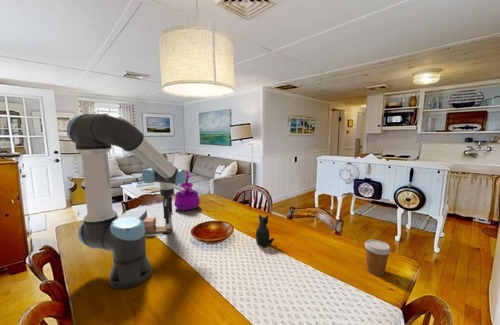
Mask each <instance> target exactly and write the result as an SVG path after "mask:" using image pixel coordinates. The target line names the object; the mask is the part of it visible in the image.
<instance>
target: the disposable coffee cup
mask: <svg viewBox="0 0 500 325" xmlns="http://www.w3.org/2000/svg"><path fill="white" fill-rule="evenodd" d="M364 247H365V256H366V257H365V258H366V270H367V271H368V272H369V273H370V274H372V275H374V276H378V277H380V276H384V274H385V271H386V267H387V263H388V260H389V259H388V258H389V255H390V253H391V251H392V250H391V247H390V245H389V244H388V243H386V242H385V241H382V240H379V239H368V240H366V241H365V243H364Z"/></svg>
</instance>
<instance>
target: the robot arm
mask: <svg viewBox="0 0 500 325" xmlns="http://www.w3.org/2000/svg"><path fill="white" fill-rule="evenodd" d="M66 135H67V137H68V139H69V140H71V142H73V143H74V144H75V150H76V151H77V152H78V153H80V154H81V161H82V162H81V163H82V172H83V183H84V184H83V185H84V190H85V191H84V192H85V200H86V201H85V202H86V211H87V214H86V215H85V216H84V217H83V219H82V220H83V221H82V222H81V224H80V226H79V228H78V232H77V236H78V239H79V241H80V242H81V244H82V245H84V246H86V247H88V248H92V249H99V250H103V251H104V250H105V251H109V252H111V253H112V266H111V269H110V272H109V275H108V276H109V278H108V281H109V286H110V287H112V288H113V289H119V290H125V289H131V288H133V287H136V286H139V285H141V284H143V283H144V282H146V281H147V280H148V279H149V278H150V277H151V275H152V273H153V272H152V265H151V262H150V259H149V258H148V256H147V247H146V244H147V243H146V236H145V228H144V223H143V221H142V220H141V219H139V218H135V217H122V218H119V217H118V212H117V211H116V210H114V209H113V198H112V186H111V176H110V166H109V152H110V151H111V150H112V147H113V146H114V147H115V146H116V147H118V148H121V149H122V150H123V151H124V152H128V153H129V152H130V153H131V154H133V155H134V156H135V157H137V158H138V159H140V160H141V161H142V162H143V163H144V164H146V165H147V166H148V167H149V168H146V169H144V170H143V171H142V173H141V178H142V180H143V182H144V183H146V184H153V183H159V188H160V189H159V190H160V192H159V193H160V194H159V195H160V196H162V197H164V198H163V200H162V201H163V202H162V206H163V207H162V208H163V219H164V222H165V223H164V224H165V225H164V226H166V229H170V228H171V226H173V222H172V221H173V219H172V218H173V217H172V215H174V214H173V213H174V212H173V195H175V185H179V184H183V183H184V182H185V181H186V178H187V174H186V171H185V169H182V168H177V167H176V166H175V165H174V164H173V162H172V161H169V159H167V158H166V157H165V156H164V154H162V153H161V152H160V151H159V150H158V149H157V148H155V147H154V146H153V145H152V144H151V143H150V142H149V141H148V140H147V139H146V138H145V135H144V133H143V132H142V131H141V130H140V129H139V128H138V127H137V126H135V125H134V124H132V122H129V121H128V120H126V119H125V118H123V117H121V116H119V115H116V114H113V113H84V114H78V115H76V116H73V117H72V118H71V119H70V120H69V122H68V123H67V124H66ZM170 213H171V223H170Z"/></svg>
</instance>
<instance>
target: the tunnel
mask: <svg viewBox="0 0 500 325" xmlns="http://www.w3.org/2000/svg"><path fill="white" fill-rule="evenodd" d="M122 217H135V218H139V219H141V220H142V221H143V220H144V218H148V209H138V210H135V209H132V210H127V211H125V212H124V213H123V214H122V215H121V216H119V217H118V218H122Z"/></svg>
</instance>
